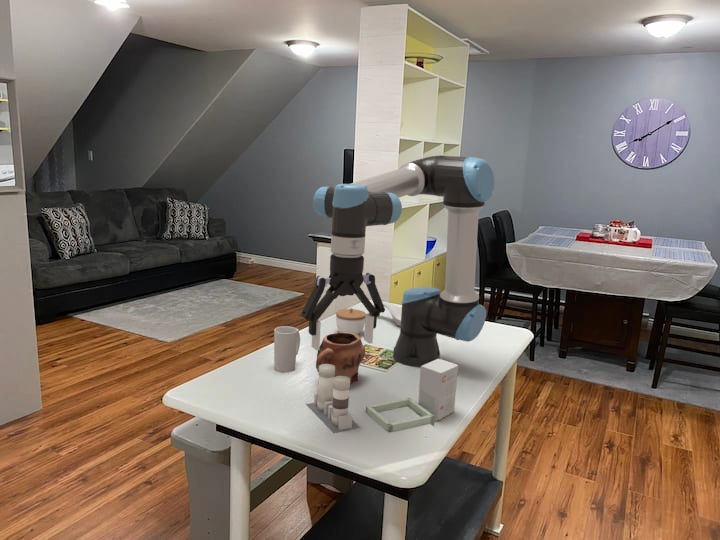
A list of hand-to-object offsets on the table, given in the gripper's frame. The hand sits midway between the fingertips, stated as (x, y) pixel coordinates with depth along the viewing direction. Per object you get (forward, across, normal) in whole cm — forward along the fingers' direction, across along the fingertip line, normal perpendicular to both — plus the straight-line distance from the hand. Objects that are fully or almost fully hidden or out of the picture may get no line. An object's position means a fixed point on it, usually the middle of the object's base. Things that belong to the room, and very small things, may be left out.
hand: (342, 345), depth 130 cm
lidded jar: (+21, +35, +61) cm, 73 cm away
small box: (+21, +27, -2) cm, 34 cm away
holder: (+21, 0, +4) cm, 21 cm away
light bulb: (+19, 0, 0) cm, 19 cm away
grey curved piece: (+21, +58, +67) cm, 91 cm away
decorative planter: (+21, +11, +23) cm, 33 cm away
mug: (+21, +3, +40) cm, 45 cm away
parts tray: (+21, +15, -3) cm, 26 cm away
